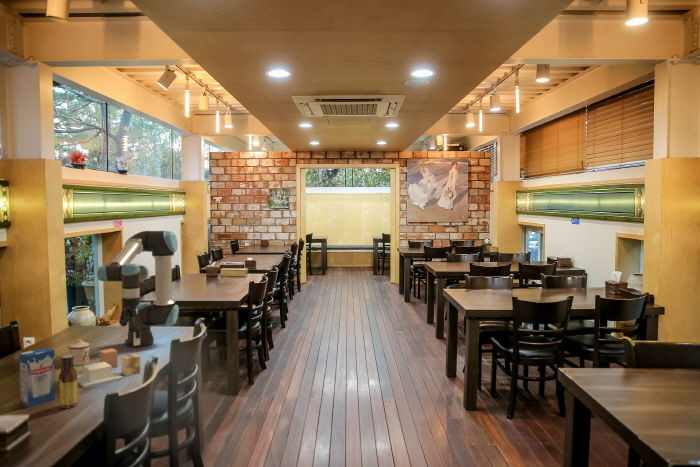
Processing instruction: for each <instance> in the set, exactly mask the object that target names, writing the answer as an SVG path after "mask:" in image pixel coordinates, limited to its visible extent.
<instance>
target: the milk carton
mask: <svg viewBox="0 0 700 467" xmlns="http://www.w3.org/2000/svg"><path fill="white" fill-rule="evenodd" d="M55 356H56V355H55V349H51V348H49V347H44V348H43V347H42V348H39V349H35V350H29V351H25V352H20V353H19V404H20V405H21V406H23V405H24V407H26V408H28V407H29V408H32V407H35V406H38V404H39V405H42V404H45V403H48V402H52V401H55V400H56V390H55V389H56V385H55V384H56V381H55V379H56V377H55V376H56V372H55V371H56V370H55V368H56V364H55V363H56V361H55ZM54 399H55V400H54ZM51 400H52V401H51ZM47 401H48V402H47ZM44 402H45V403H44ZM41 403H42V404H41ZM31 406H32V407H31Z"/></svg>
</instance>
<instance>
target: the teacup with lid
mask: <svg viewBox="0 0 700 467" xmlns="http://www.w3.org/2000/svg"><path fill="white" fill-rule="evenodd" d="M90 346H91V344H90V343H89V342H87V341H83V340H82V339H77V340H76V342H74V343H70V345H69V347H68V350H69V352H68V353H69V354H68V355H73V356H74V359H73V365H74V366H75V367H76V366H84V365H88V364H89V363H90ZM74 366H73V367H74Z"/></svg>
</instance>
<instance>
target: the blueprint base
mask: <svg viewBox="0 0 700 467" xmlns="http://www.w3.org/2000/svg"><path fill="white" fill-rule="evenodd" d="M121 380H124V376H122V375H120V374H118V372H116V371H114V370H113V368H112V366H111V365H109V364H108V363H106V362H100V361H99V362H94V363H90V364H89V363H88V364H84V365H82V374H77V385H79V386H81V387H82V388H84V389H86V388H87V389H88V388H91V387H95V386H100V385H104V384H108V383H113V382H116V381H121Z"/></svg>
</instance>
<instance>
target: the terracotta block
mask: <svg viewBox="0 0 700 467" xmlns="http://www.w3.org/2000/svg"><path fill="white" fill-rule="evenodd" d="M99 362H106V363H108V364H109V365H111V366H112V369H114V368H115V369H116V368H118V350H116V349H115V348H111V347H110V348H107V349H101V350H99Z"/></svg>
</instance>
